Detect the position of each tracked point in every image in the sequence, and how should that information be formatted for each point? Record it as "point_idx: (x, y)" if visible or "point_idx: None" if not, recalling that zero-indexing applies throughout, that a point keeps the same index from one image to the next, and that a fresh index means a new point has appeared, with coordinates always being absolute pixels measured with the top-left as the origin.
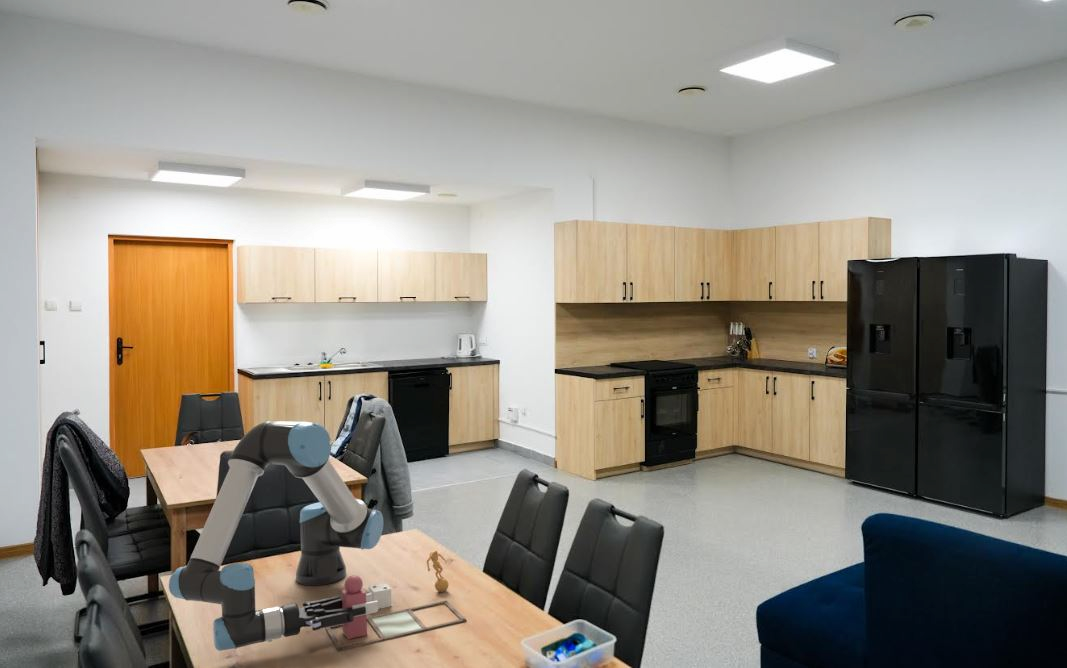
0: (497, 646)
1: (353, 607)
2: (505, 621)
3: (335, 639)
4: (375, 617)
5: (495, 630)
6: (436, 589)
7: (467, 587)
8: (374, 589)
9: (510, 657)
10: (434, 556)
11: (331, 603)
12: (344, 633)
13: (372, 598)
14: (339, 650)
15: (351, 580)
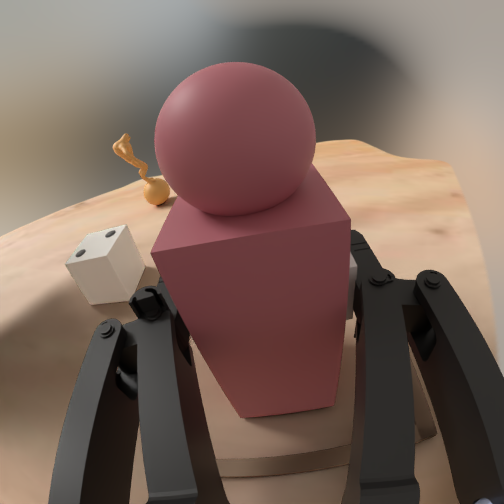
0: (415, 165)
1: (355, 267)
2: (332, 156)
3: (323, 456)
4: None
5: (361, 162)
6: (157, 200)
7: None
8: (93, 253)
9: (445, 163)
10: (128, 144)
11: (181, 406)
12: (269, 414)
13: (105, 279)
14: (435, 430)
15: (273, 76)
